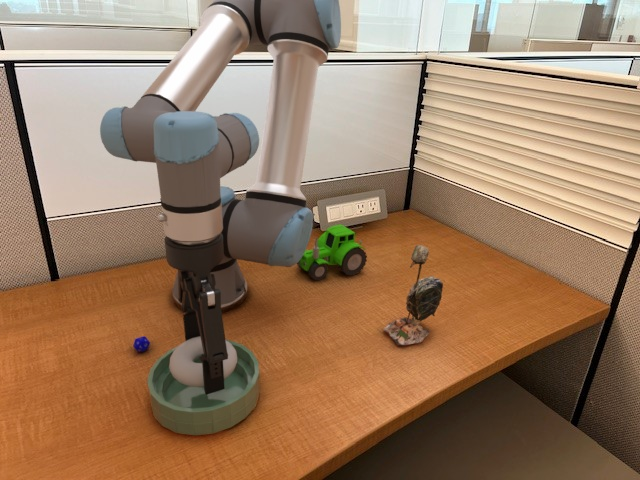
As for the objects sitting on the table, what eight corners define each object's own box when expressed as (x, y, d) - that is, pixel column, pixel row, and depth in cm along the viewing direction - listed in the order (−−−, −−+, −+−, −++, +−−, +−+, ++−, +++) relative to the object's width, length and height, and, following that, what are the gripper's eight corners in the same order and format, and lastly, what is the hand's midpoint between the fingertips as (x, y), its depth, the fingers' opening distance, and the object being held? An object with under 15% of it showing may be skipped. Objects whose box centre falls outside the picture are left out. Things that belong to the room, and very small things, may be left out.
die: (143, 357, 83) (131, 346, 82) (140, 354, 85) (127, 343, 84) (155, 345, 84) (143, 334, 83) (151, 342, 86) (139, 331, 85)
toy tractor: (288, 267, 115) (289, 229, 110) (343, 252, 123) (346, 216, 119) (313, 287, 106) (315, 247, 102) (370, 270, 115) (374, 232, 110)
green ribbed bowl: (142, 379, 78) (139, 354, 76) (239, 352, 85) (238, 329, 83) (163, 454, 65) (159, 427, 63) (275, 415, 72) (275, 389, 70)
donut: (205, 403, 66) (251, 363, 74) (203, 383, 65) (250, 345, 73) (155, 375, 71) (204, 340, 79) (152, 356, 70) (202, 323, 77)
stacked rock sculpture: (448, 340, 91) (465, 245, 82) (394, 350, 87) (406, 252, 79) (426, 316, 98) (440, 226, 89) (375, 325, 94) (385, 232, 86)
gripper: (148, 209, 71) (163, 333, 80) (186, 277, 53) (199, 428, 62) (199, 202, 74) (207, 322, 83) (250, 265, 56) (254, 409, 65)
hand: (204, 367), depth 73 cm, fingers closed on donut, 10 cm apart
